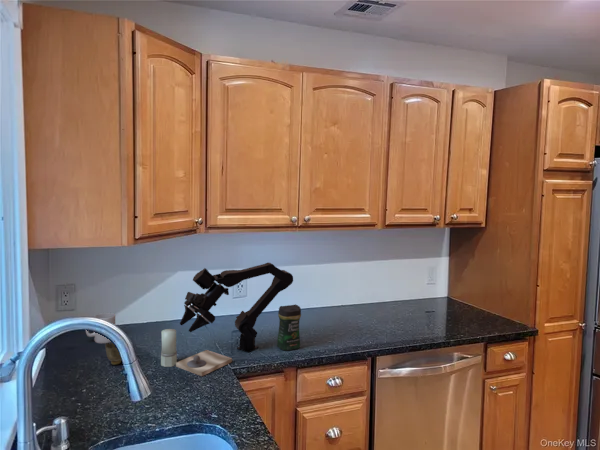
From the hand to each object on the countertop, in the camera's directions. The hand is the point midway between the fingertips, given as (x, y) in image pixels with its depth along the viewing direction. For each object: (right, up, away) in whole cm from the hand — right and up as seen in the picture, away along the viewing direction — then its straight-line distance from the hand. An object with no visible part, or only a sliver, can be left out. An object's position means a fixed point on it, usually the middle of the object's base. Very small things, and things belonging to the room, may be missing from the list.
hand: (184, 328), depth 173 cm
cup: (-26, -13, -4) cm, 29 cm away
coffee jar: (+40, -13, +17) cm, 46 cm away
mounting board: (+8, -14, -2) cm, 16 cm away
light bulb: (-6, -13, -2) cm, 15 cm away
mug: (-42, -10, +19) cm, 47 cm away
